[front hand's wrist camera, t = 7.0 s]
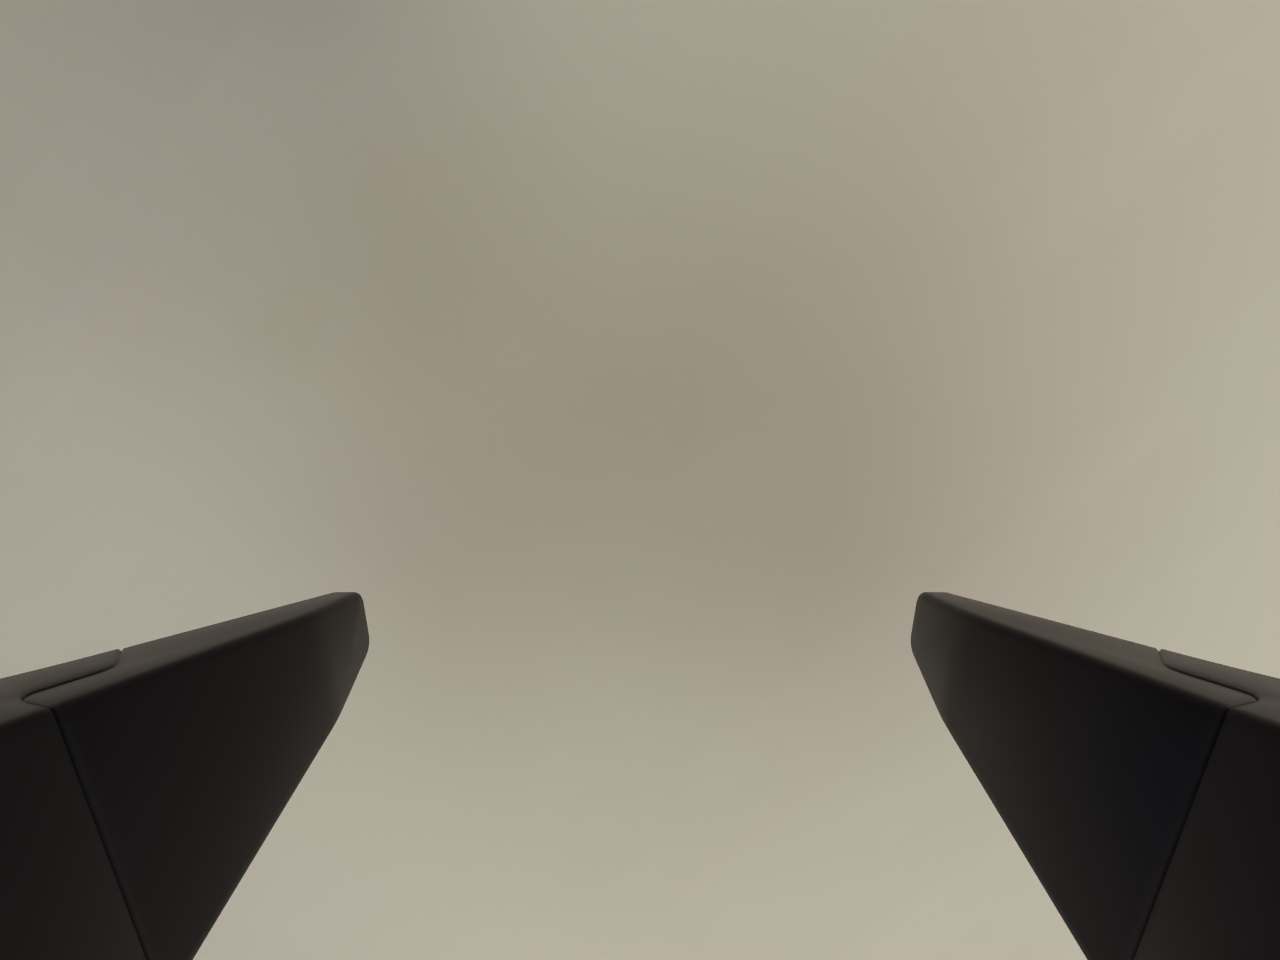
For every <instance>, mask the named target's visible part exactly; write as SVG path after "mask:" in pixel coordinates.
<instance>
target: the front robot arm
mask: <svg viewBox="0 0 1280 960" xmlns="http://www.w3.org/2000/svg"><path fill="white" fill-rule="evenodd" d="M368 647H369V633H368V627H367V621H366V615H365V609H364V603H363V600H362V597H361V596H360V594H358V593H356V592H336V593H330V594H327V595H323V596H319V597H315V598H312V599H308V600H304V601H300V602H297V603H293V604H289V605H285V606H281V607H278V608H274V609H270V610H266V611H263V612H259V613H255V614H251V615H248V616H244V617H240V618H236V619H233V620H229V621H225V622H221V623H218V624H214V625H210V626H206V627H203V628H199V629H195V630H191V631H188V632H184V633H180V634H176V635H172V636H169V637H165V638H161V639H157V640H154V641H150V642H146V643H142V644H139V645H135V646H131V647H127V648H124V649H123V650H122V652H121V651H120V650H119V649H116V650H113V651H109V652H105V653H101V654H97V655H94V656H90V657H86V658H82V659H78V660H74V661H70V662H66V663H62V664H59V665H55V666H51V667H47V668H43V669H39V670H34V671H30V672H26V673H22V674H18V675H14V676H10V677H6V678H2V679H0V960H193V958H194V956H195V955H196V953H197V951H198V950H199V948H200V946H201V945H202V943H203V942H204V940H205V938H206V937H207V935H208V933H209V932H210V930H211V928H212V927H213V925H214V923H215V922H216V920H217V918H218V917H219V915H220V913H221V912H222V910H223V908H224V907H225V905H226V903H227V902H228V900H229V899H230V897H231V895H232V894H233V892H234V890H235V889H236V887H237V885H238V884H239V882H240V880H241V879H242V877H243V875H244V874H245V872H246V870H247V869H248V867H249V865H250V864H251V862H252V860H253V859H254V857H255V856H256V854H257V852H258V851H259V849H260V847H261V846H262V844H263V842H264V841H265V839H266V837H267V836H268V834H269V832H270V831H271V829H272V827H273V826H274V824H275V822H276V821H277V819H278V817H279V816H280V814H281V813H282V811H283V809H284V808H285V806H286V804H287V803H288V801H289V799H290V798H291V796H292V794H293V793H294V791H295V789H296V788H297V786H298V784H299V783H300V781H301V779H302V778H303V776H304V774H305V773H306V771H307V770H308V768H309V766H310V765H311V763H312V761H313V760H314V758H315V756H316V755H317V753H318V751H319V750H320V748H321V746H322V745H323V743H324V741H325V740H326V738H327V736H328V735H329V733H330V731H331V730H332V728H333V726H334V724H335V723H336V721H337V719H338V717H339V715H340V713H341V711H342V709H343V707H344V705H345V702H346V700H347V698H348V695H349V693H350V691H351V689H352V686H353V684H354V682H355V680H356V677H357V675H358V673H359V670H360V668H361V666H362V664H363V661H364V659H365V657H366V654H367V652H368ZM911 647H912V652H913V654H914V657H915V659H916V661H917V664H918V666H919V668H920V670H921V673H922V675H923V677H924V680H925V682H926V684H927V686H928V689H929V691H930V693H931V695H932V698H933V700H934V702H935V705H936V707H937V709H938V711H939V713H940V715H941V717H942V719H943V721H944V723H945V724H946V726H947V728H948V730H949V731H950V733H951V735H952V736H953V738H954V740H955V741H956V743H957V745H958V746H959V748H960V750H961V751H962V753H963V755H964V756H965V758H966V760H967V761H968V763H969V765H970V766H971V768H972V770H973V771H974V773H975V774H976V776H977V778H978V779H979V781H980V783H981V784H982V786H983V788H984V789H985V791H986V793H987V794H988V796H989V798H990V799H991V801H992V803H993V804H994V806H995V808H996V809H997V811H998V813H999V814H1000V816H1001V817H1002V819H1003V821H1004V822H1005V824H1006V826H1007V827H1008V829H1009V831H1010V832H1011V834H1012V836H1013V837H1014V839H1015V841H1016V842H1017V844H1018V846H1019V847H1020V849H1021V851H1022V852H1023V854H1024V856H1025V857H1026V859H1027V860H1028V862H1029V864H1030V865H1031V867H1032V869H1033V870H1034V872H1035V874H1036V875H1037V877H1038V879H1039V880H1040V882H1041V884H1042V885H1043V887H1044V889H1045V890H1046V892H1047V894H1048V895H1049V897H1050V899H1051V900H1052V902H1053V903H1054V905H1055V907H1056V908H1057V910H1058V912H1059V913H1060V915H1061V917H1062V918H1063V920H1064V922H1065V923H1066V925H1067V927H1068V928H1069V930H1070V932H1071V933H1072V935H1073V937H1074V938H1075V940H1076V942H1077V943H1078V945H1079V946H1080V948H1081V950H1082V951H1083V953H1084V955H1085V956H1086V958H1087V960H1280V679H1278V678H1274V677H1270V676H1266V675H1262V674H1258V673H1254V672H1250V671H1246V670H1241V669H1237V668H1233V667H1229V666H1225V665H1221V664H1218V663H1214V662H1210V661H1206V660H1202V659H1198V658H1194V657H1190V656H1186V655H1183V654H1179V653H1175V652H1171V651H1167V650H1164V649H1161V650H1160V651H1159V652H1158V650H1157V649H1156V648H1153V647H1149V646H1145V645H1141V644H1138V643H1134V642H1130V641H1126V640H1123V639H1119V638H1115V637H1111V636H1108V635H1104V634H1100V633H1096V632H1093V631H1089V630H1085V629H1081V628H1077V627H1074V626H1070V625H1066V624H1062V623H1059V622H1055V621H1051V620H1047V619H1044V618H1040V617H1036V616H1032V615H1029V614H1025V613H1021V612H1017V611H1014V610H1010V609H1006V608H1002V607H999V606H995V605H991V604H987V603H983V602H980V601H976V600H972V599H968V598H965V597H961V596H957V595H953V594H950V593H944V592H924V593H922V594H920V596H919V597H918V600H917V603H916V609H915V615H914V621H913V627H912V633H911Z"/></svg>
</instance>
